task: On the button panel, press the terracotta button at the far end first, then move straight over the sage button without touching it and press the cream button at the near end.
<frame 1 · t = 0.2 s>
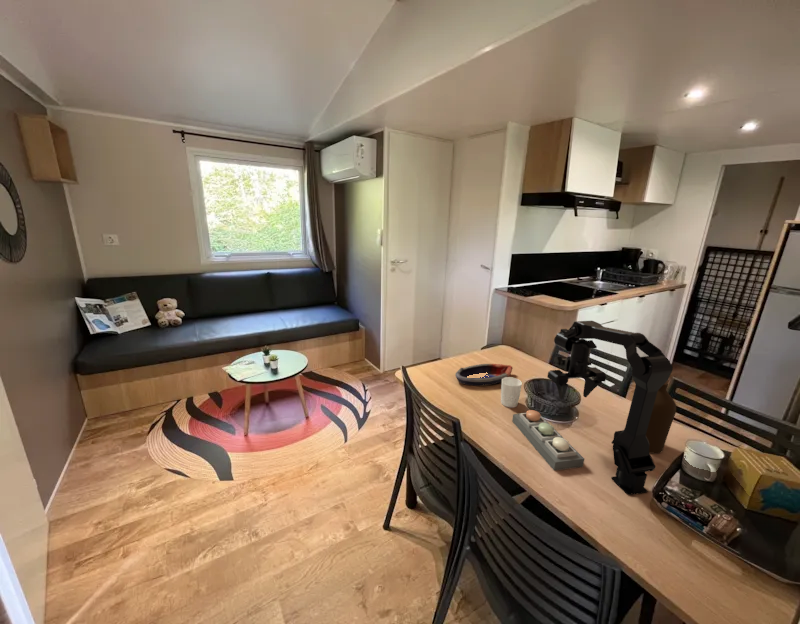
hand: (573, 397, 120), 13 cm above the table, tool pointing down, fingers open, 9 cm apart
terracotta button: (533, 415, 123), point 5 cm above the table, slide at 0.0 cm
cream button: (560, 444, 108), point 5 cm above the table, slide at 0.0 cm
button panel: (544, 441, 117), on the table
olive oil: (645, 445, 117), on the table
white cup: (509, 403, 141), on the table
sage button: (546, 428, 116), point 5 cm above the table, slide at 0.0 cm
dish: (484, 379, 162), on the table
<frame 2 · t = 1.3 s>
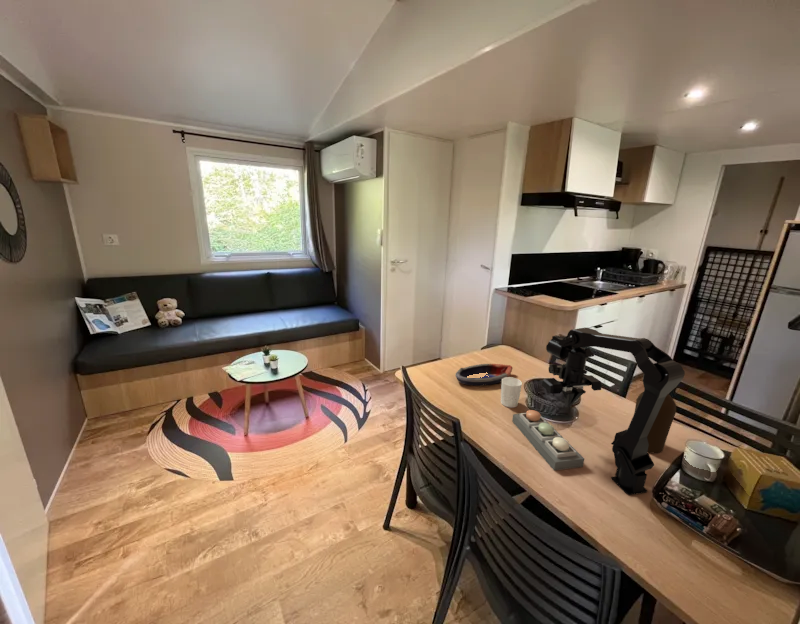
hand: (567, 406, 116), 12 cm above the table, tool pointing down, fingers closed
nothing on the table moved.
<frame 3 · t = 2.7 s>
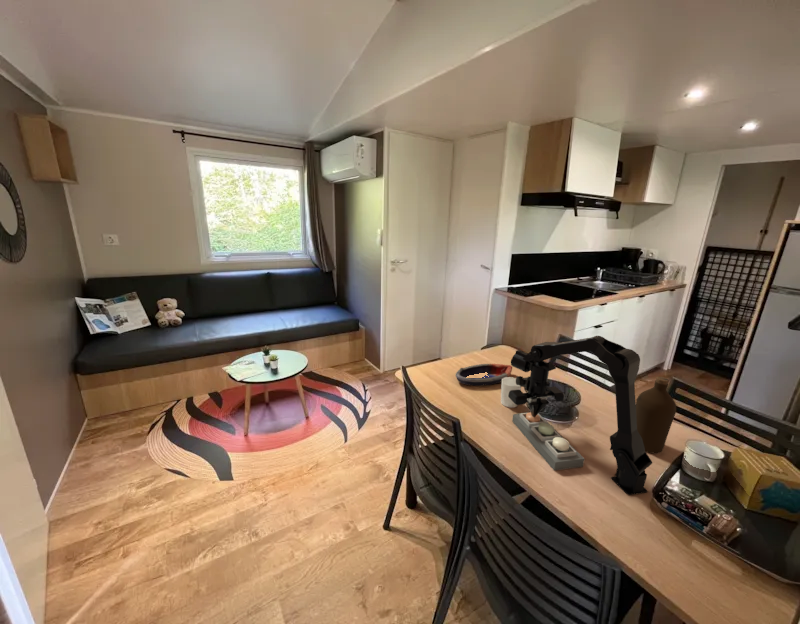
hand: (533, 416, 123), 5 cm above the table, tool pointing down, fingers closed, pressing on terracotta button
terracotta button: (532, 418, 124), point 4 cm above the table, slide at 1.0 cm, touching gripper
everything else where it was.
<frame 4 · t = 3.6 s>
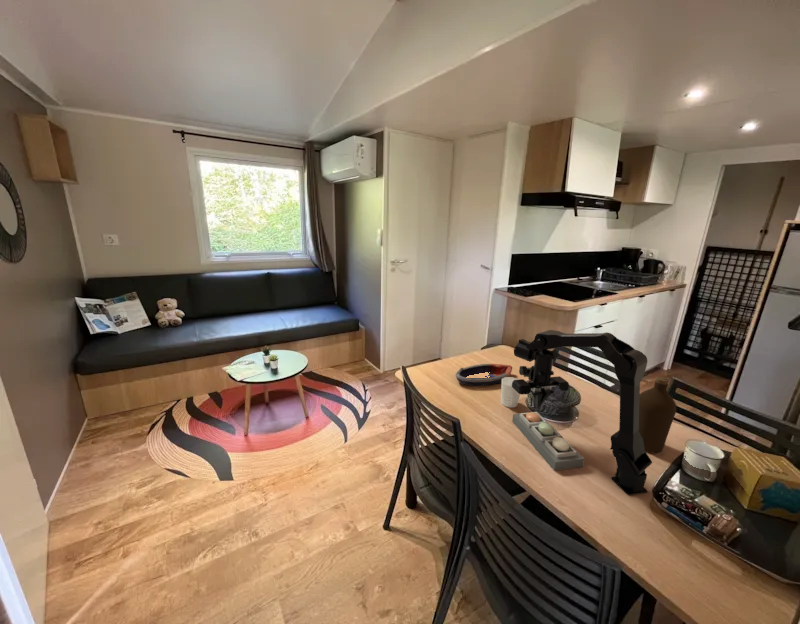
hand: (537, 406, 121), 10 cm above the table, tool pointing down, fingers closed
terracotta button: (532, 418, 124), point 4 cm above the table, slide at 1.0 cm
everything else where it was.
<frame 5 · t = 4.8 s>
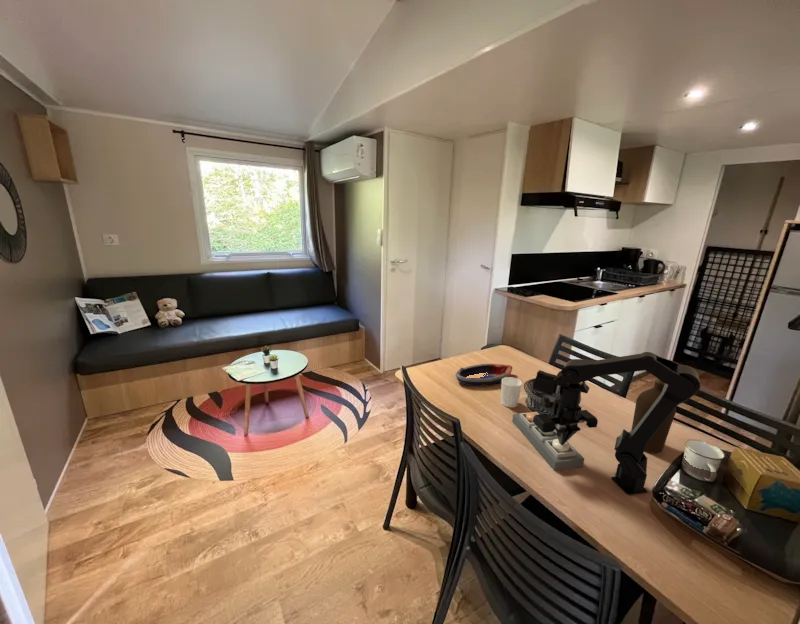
hand: (561, 443, 108), 5 cm above the table, tool pointing down, fingers closed, pressing on cream button
cream button: (560, 445, 108), point 4 cm above the table, slide at 0.7 cm, touching gripper
everything else where it was.
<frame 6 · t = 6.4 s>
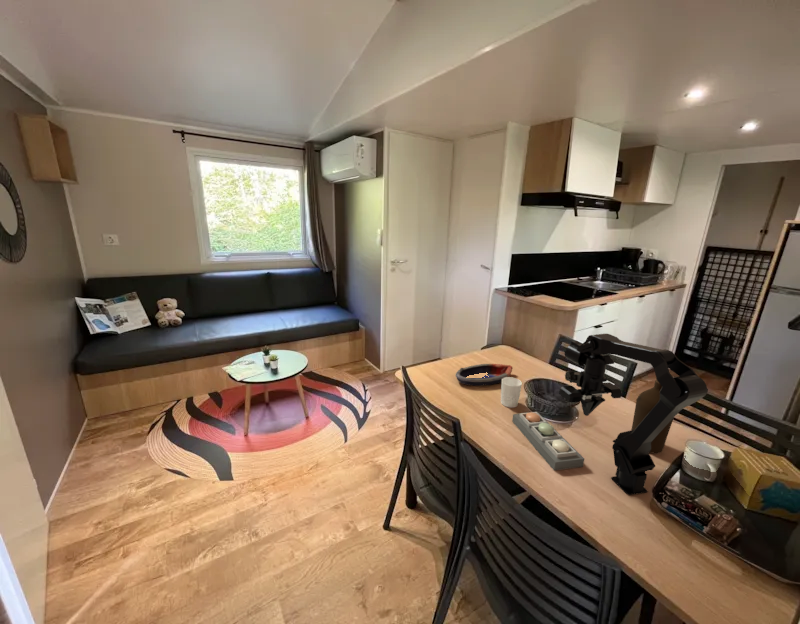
hand: (585, 415, 112), 12 cm above the table, tool pointing down, fingers closed
cream button: (560, 446, 109), point 4 cm above the table, slide at 1.0 cm
everything else where it was.
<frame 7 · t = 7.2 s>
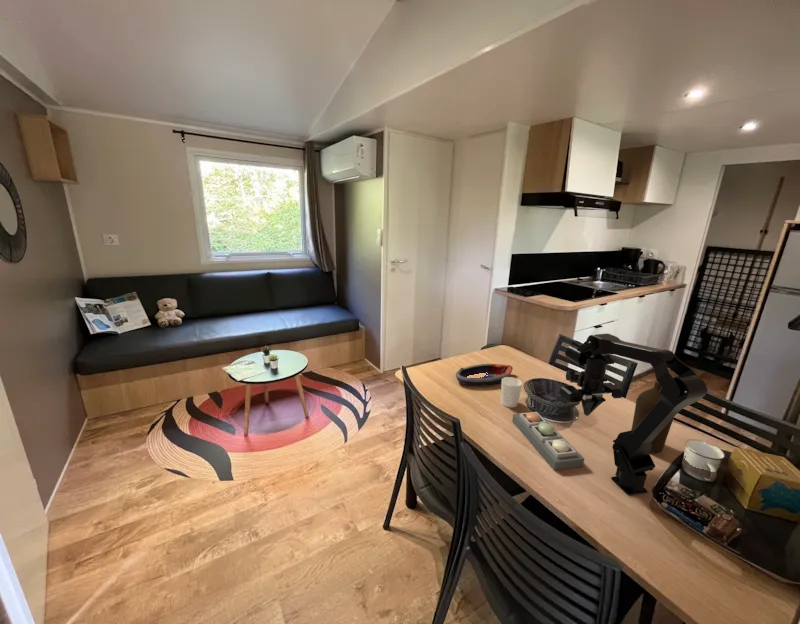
hand: (586, 415, 112), 12 cm above the table, tool pointing down, fingers closed
nothing on the table moved.
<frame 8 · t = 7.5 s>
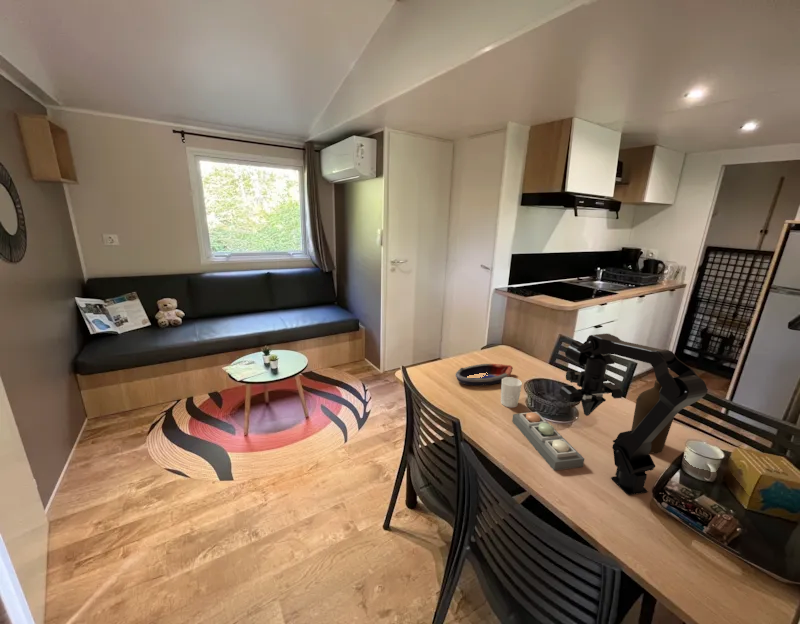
hand: (586, 415, 112), 12 cm above the table, tool pointing down, fingers closed
nothing on the table moved.
at the end: terracotta button slide at 1.0 cm; cream button slide at 1.0 cm; sage button slide at 0.0 cm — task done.
